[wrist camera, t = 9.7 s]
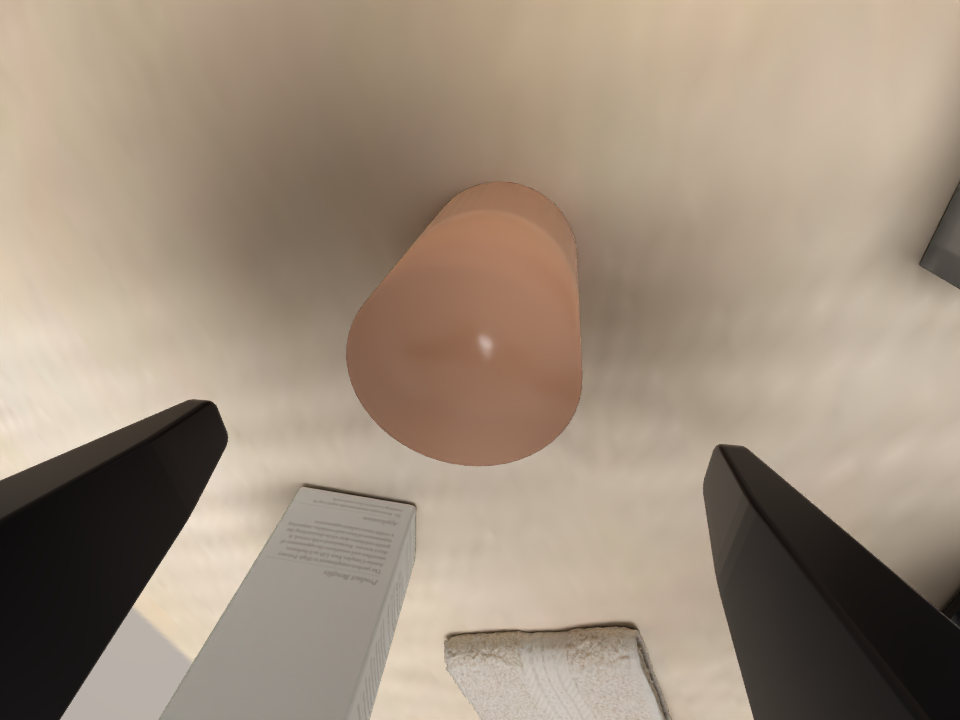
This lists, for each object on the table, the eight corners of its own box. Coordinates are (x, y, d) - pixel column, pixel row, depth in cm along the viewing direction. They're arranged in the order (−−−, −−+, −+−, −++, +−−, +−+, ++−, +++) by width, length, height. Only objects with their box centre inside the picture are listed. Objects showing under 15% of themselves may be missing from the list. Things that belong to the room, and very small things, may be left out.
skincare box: (312, 535, 26) (147, 843, 16) (300, 478, 23) (96, 797, 13) (422, 556, 25) (325, 888, 15) (422, 498, 23) (306, 850, 13)
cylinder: (570, 330, 17) (571, 476, 11) (432, 323, 18) (365, 456, 12) (583, 182, 14) (594, 271, 8) (420, 180, 15) (325, 261, 9)
